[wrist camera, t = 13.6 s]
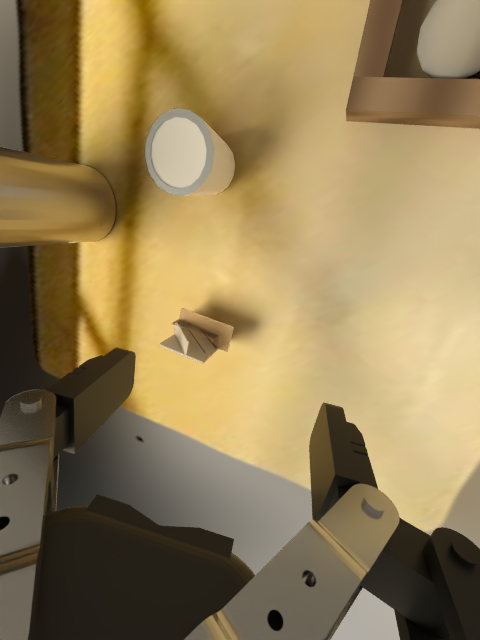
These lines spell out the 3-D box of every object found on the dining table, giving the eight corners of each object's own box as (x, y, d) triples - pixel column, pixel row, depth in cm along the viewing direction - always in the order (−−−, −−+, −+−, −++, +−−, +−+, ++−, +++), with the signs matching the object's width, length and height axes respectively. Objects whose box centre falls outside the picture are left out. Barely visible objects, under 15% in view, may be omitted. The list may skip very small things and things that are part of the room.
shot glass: (173, 152, 33) (131, 136, 27) (224, 116, 30) (192, 88, 24) (198, 212, 34) (164, 209, 28) (250, 182, 31) (225, 172, 25)
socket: (346, 120, 27) (346, 109, 24) (387, -62, 23) (392, -100, 20) (501, 129, 24) (520, 117, 21) (582, -81, 20) (619, -129, 17)
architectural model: (194, 300, 38) (161, 316, 32) (243, 318, 37) (219, 339, 30) (189, 324, 40) (157, 344, 33) (237, 342, 38) (213, 368, 31)
